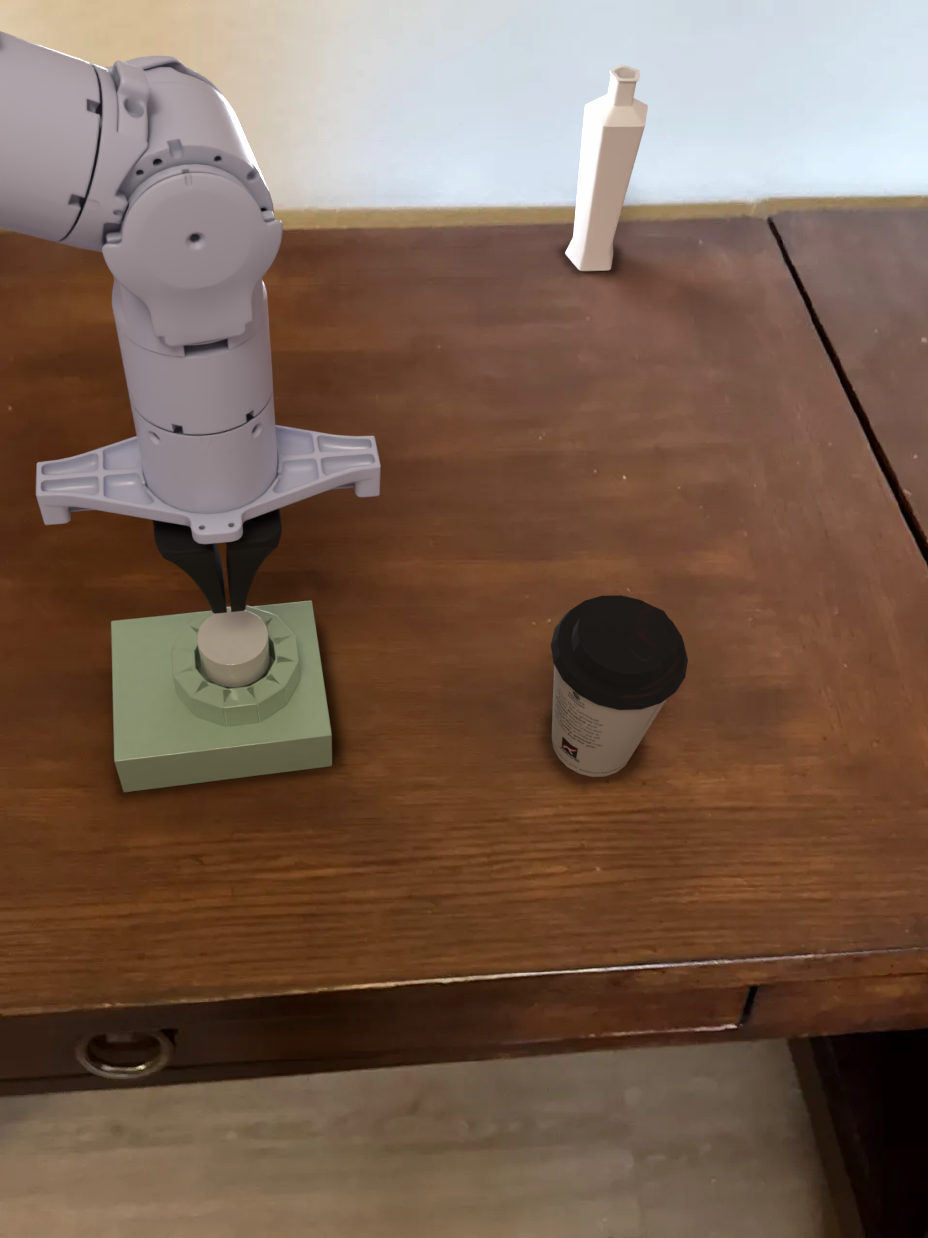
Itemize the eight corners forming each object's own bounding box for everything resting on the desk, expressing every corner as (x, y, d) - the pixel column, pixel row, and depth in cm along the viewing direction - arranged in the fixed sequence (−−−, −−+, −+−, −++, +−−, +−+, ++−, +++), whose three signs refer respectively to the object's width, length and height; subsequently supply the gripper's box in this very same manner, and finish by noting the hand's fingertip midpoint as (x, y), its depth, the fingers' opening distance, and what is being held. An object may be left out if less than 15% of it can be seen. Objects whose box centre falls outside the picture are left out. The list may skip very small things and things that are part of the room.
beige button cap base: (123, 793, 64) (108, 742, 60) (119, 654, 69) (105, 600, 65) (332, 766, 66) (331, 716, 62) (313, 634, 71) (311, 580, 67)
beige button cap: (202, 691, 62) (199, 668, 61) (198, 635, 65) (194, 612, 63) (273, 683, 63) (271, 660, 61) (266, 628, 65) (264, 605, 64)
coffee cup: (550, 806, 65) (578, 703, 57) (516, 699, 69) (538, 589, 61) (671, 784, 66) (715, 681, 59) (631, 681, 70) (667, 571, 63)
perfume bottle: (551, 262, 94) (581, 77, 82) (574, 234, 97) (606, 50, 85) (605, 283, 93) (643, 98, 81) (627, 254, 96) (667, 70, 84)
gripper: (9, 473, 45) (74, 679, 56) (394, 442, 48) (386, 645, 58) (15, 348, 49) (74, 563, 60) (369, 326, 52) (365, 536, 63)
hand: (227, 596), depth 60 cm, fingers closed
